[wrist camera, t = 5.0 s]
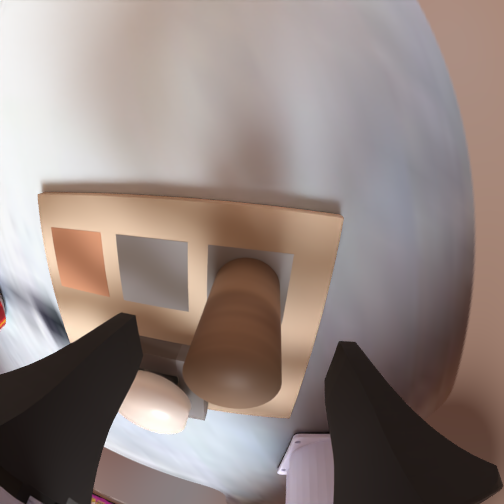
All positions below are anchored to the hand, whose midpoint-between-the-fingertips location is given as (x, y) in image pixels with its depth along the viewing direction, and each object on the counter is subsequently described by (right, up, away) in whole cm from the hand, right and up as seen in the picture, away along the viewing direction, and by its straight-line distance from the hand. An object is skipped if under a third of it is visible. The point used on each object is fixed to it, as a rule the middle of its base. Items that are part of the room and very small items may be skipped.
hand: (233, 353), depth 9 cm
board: (-4, -1, +7) cm, 8 cm away
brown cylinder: (0, +2, +4) cm, 5 cm away
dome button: (-5, -5, +7) cm, 10 cm away
